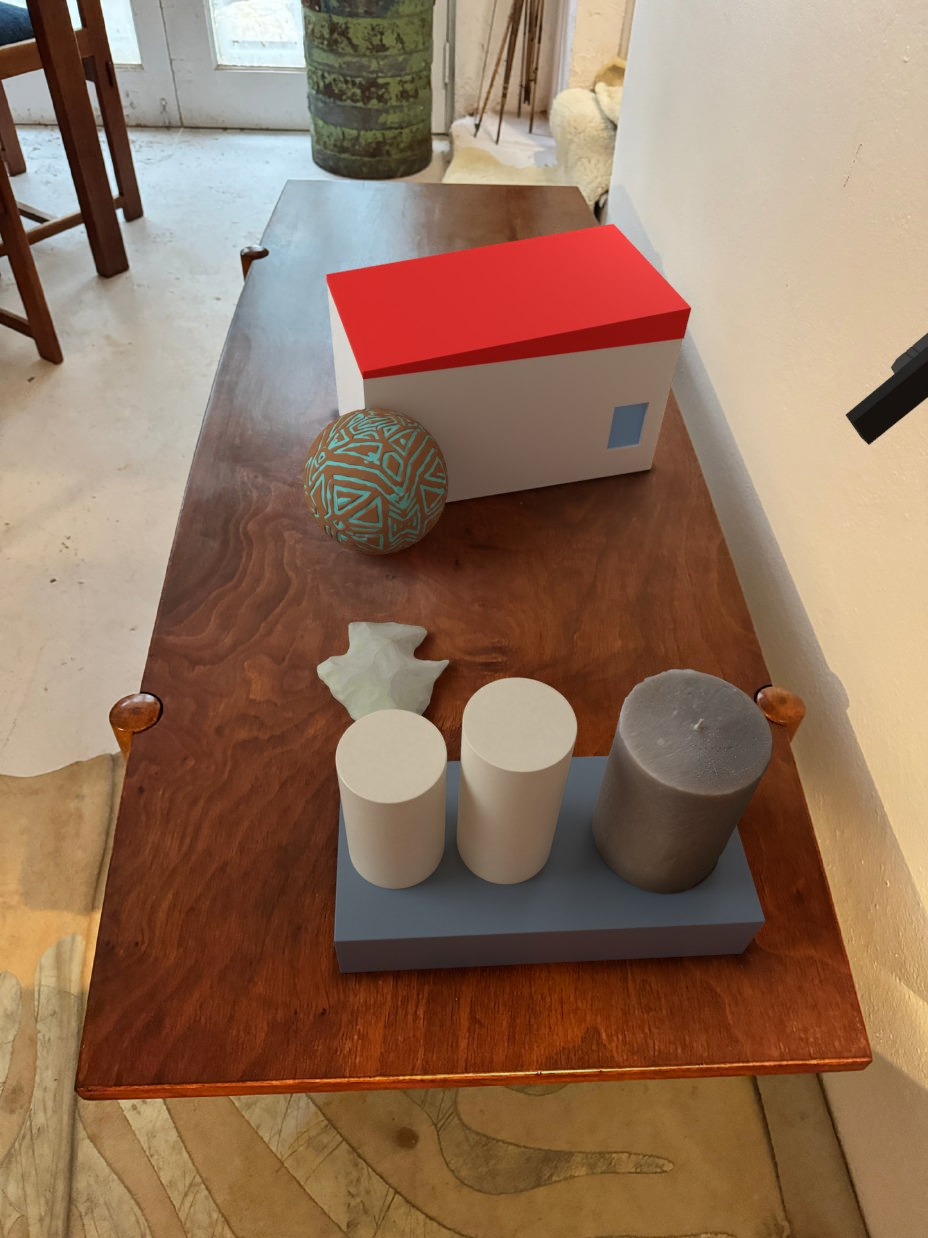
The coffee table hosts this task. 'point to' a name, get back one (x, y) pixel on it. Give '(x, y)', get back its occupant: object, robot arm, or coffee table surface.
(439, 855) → the short ivory candle
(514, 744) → the tall ivory candle
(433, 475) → the decorative sphere
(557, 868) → the plinth
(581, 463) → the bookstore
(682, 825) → the pillar candle
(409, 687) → the arrowhead
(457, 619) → the coffee table surface
